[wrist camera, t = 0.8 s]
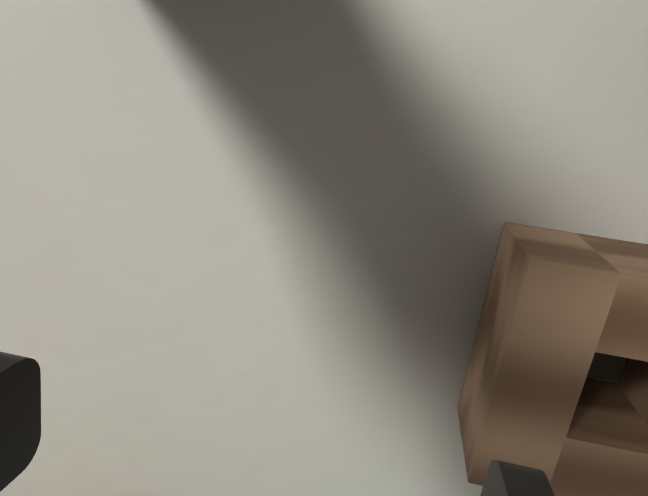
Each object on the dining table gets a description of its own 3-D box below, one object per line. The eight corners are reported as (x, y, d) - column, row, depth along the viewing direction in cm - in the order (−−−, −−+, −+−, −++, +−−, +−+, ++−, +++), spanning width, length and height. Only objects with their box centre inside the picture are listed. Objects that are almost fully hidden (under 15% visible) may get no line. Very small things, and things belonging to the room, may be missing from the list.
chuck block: (504, 222, 27) (529, 258, 21) (746, 260, 25) (843, 310, 20) (457, 409, 30) (468, 482, 25) (665, 450, 29) (726, 538, 23)
